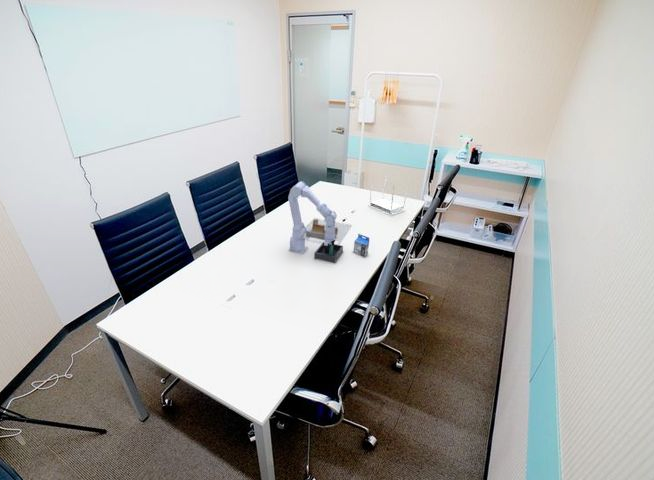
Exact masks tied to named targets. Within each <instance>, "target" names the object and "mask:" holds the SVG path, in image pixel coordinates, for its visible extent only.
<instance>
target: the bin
mask: <svg viewBox="0 0 654 480" xmlns="http://www.w3.org/2000/svg"><path fill="white" fill-rule="evenodd" d="M343 252H344V245H341V244H335V243H334V246H333V256H330V255H326V254H325V249H324V247H323V245H322V243H321V244H320V245H319V247H318V248H317V249H316V250H315V251H314V256H313V257H314V260H315V259H316V260H320V261H325V262H329V263H333V264H335V263H337V261H338V259H340V258H339V257H340V256H341V255H342V253H343Z"/></svg>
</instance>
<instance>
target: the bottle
mask: <svg viewBox="0 0 654 480" xmlns="http://www.w3.org/2000/svg"><path fill="white" fill-rule="evenodd" d="M329 244H331V247H330V251H329V254H326V253H325V254H326V255H330V256H333V246H332V243H331V242H329Z"/></svg>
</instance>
